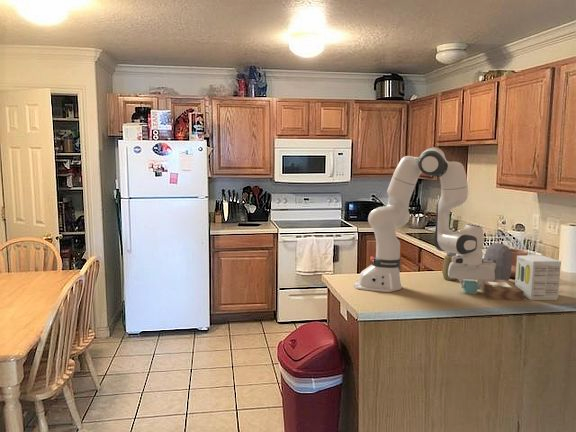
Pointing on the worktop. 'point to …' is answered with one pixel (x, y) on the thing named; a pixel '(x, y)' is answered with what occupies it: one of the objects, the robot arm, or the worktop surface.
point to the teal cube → (470, 286)
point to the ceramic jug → (514, 259)
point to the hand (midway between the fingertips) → (470, 288)
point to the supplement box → (538, 277)
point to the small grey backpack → (500, 260)
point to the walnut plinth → (501, 290)
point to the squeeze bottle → (447, 265)
